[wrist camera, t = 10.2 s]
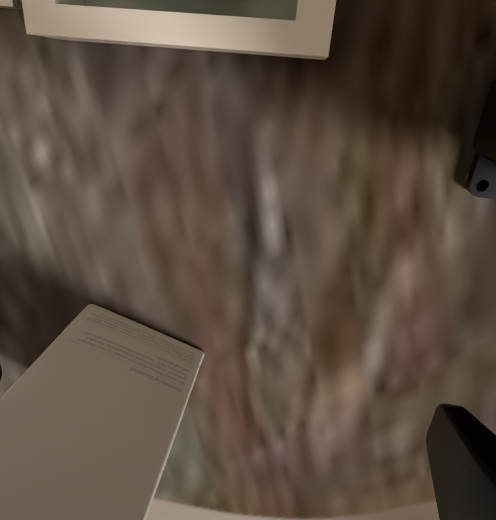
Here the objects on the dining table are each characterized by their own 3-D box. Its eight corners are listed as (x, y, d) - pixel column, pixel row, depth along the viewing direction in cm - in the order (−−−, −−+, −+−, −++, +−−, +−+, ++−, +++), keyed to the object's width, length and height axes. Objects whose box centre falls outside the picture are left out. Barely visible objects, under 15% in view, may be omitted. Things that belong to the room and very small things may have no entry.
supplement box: (88, 297, 22) (-136, 530, 11) (208, 350, 23) (117, 624, 11) (61, 386, 25) (-135, 638, 14) (167, 430, 26) (63, 708, 14)
